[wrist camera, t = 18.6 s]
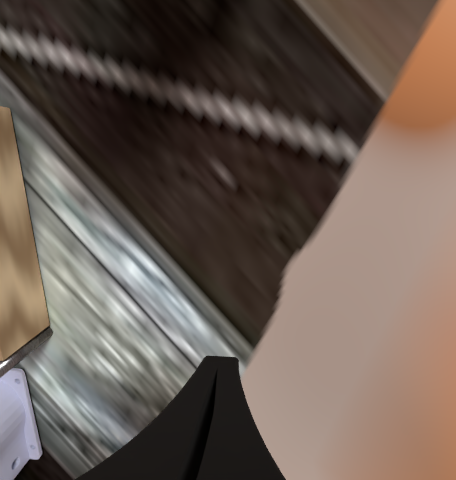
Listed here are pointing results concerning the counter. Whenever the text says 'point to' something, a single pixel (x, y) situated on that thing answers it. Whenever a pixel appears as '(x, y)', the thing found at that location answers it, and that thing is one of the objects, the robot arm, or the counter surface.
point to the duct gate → (17, 253)
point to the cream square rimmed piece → (24, 351)
